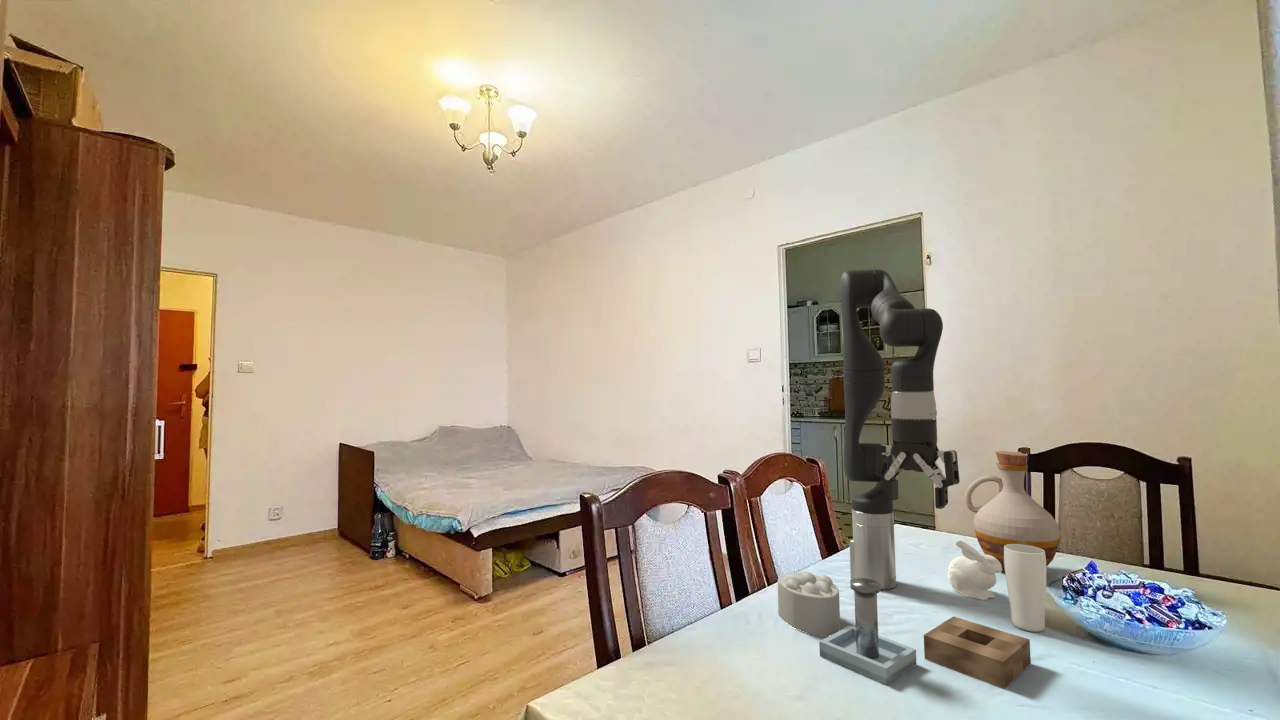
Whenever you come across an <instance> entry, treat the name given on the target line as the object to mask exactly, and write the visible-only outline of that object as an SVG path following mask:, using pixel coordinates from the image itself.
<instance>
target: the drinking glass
mask: <svg viewBox="0 0 1280 720" xmlns="http://www.w3.org/2000/svg"><path fill="white" fill-rule="evenodd" d="M1004 567H1005V574H1004V575H1005V580H1006V586H1007V595H1008V601H1009V608H1010V620H1011V623H1012V624H1013V626H1014V627H1016V628H1018V629H1019V630H1023V631H1025V632H1026V631H1027V632H1033V633H1040V632H1043V631H1044V630H1045V629H1046V596H1047V579H1048V573H1047V572H1048V566H1046V555H1045V551H1044V550H1043V549H1041V548H1038V547H1034V546H1030V545H1023V544H1007V545H1005V546H1004Z"/></svg>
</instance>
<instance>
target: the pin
mask: <svg viewBox="0 0 1280 720" xmlns="http://www.w3.org/2000/svg"><path fill="white" fill-rule="evenodd" d="M849 583H850V587H849V588H850V590H852V591H854V597H853V598H854V616H855V617H854V618H855V619H854V622H855V626H854V627H856V653H857V654H859V655H862V656H864V657H867V658H869V659H877V658H879V639H878V636H879V619H878V616H879V615H878V614H879V613H878V594H879V593H880V592H881V589H880V583H879V582H877V581H875V580H871V579H866V578H855V579H852V580H851V579H850V582H849Z"/></svg>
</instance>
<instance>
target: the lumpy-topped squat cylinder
mask: <svg viewBox="0 0 1280 720" xmlns="http://www.w3.org/2000/svg"><path fill="white" fill-rule="evenodd" d="M777 609H778V611H777V612H778V613H777V614H779V615H778V617H779V616H780V617H781V618H782V619H783V620H784V621H785V622H787V623H788V624H789V625H791V626H792V627H794V628H796V629H799V630H801V631H804V632H807V633H806V634H808V633H810V634H809V635H812V634H815V635H814V636H817V635H823V636H822V637H829V636H828V635H833V634H835V633H837V632H838V631H839V630H841V613H840V612H841V611H840V591H839V588H838V586H837V585H835V584H834V583H833V579H832V578H831V577H830V576H828V575H826V574H825V575H824V574H823V575H820V576H818V575H816V574H813V573H811V572H810V571H802V572H801V571H800V572H792V573H791V572H790V573H788V574H786V575H784V576H779V578H778V579H777ZM780 617H779V618H780ZM781 618H780V619H781ZM782 619H781V620H782ZM783 620H782V621H783ZM784 621H783V622H784ZM785 622H784V623H785ZM788 624H787V625H788ZM789 625H788V626H789ZM792 627H791V628H792ZM794 628H793V629H794ZM796 629H795V630H796ZM799 630H798V631H799ZM801 631H800V632H801ZM804 632H803V633H804Z"/></svg>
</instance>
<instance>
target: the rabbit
mask: <svg viewBox="0 0 1280 720" xmlns="http://www.w3.org/2000/svg"><path fill="white" fill-rule="evenodd" d="M955 545H956V547H957V548H959V549H961V554H962V555H961V556H956V557H954V558H953V559H952V560H951V561H950V563H949V565H948V568H947V579H948V580H947V581H948V582H949V584H950V585H951V587H952V589H953V590H954V591H955V592H956V593H959V594H960V595H962V596H963V597H964V598H969V599H971V598H972V599H976V600H980V601H988V599H993V598H995V594H994V593H993V592H992V591H990V589H991V588H993V587H994V586H995V585H996V584H997V576H996V574H1000V573H1002V572H1001V571H1002V567H1001V563H1000V562H999V561H998V560H997V559H996V558H995V557H993V556H991V555H986V554H985V553H984V554H982V553H981V552H979V550H977V549H975V548H974V547H973V546H971V545H970V544H969V543H967V542H965V541H963V540H956V542H955Z"/></svg>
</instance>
